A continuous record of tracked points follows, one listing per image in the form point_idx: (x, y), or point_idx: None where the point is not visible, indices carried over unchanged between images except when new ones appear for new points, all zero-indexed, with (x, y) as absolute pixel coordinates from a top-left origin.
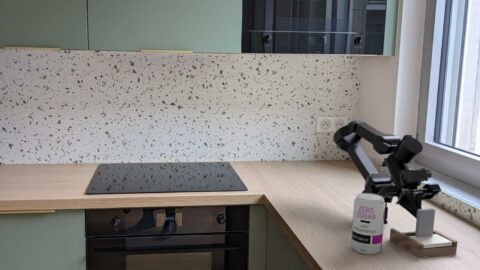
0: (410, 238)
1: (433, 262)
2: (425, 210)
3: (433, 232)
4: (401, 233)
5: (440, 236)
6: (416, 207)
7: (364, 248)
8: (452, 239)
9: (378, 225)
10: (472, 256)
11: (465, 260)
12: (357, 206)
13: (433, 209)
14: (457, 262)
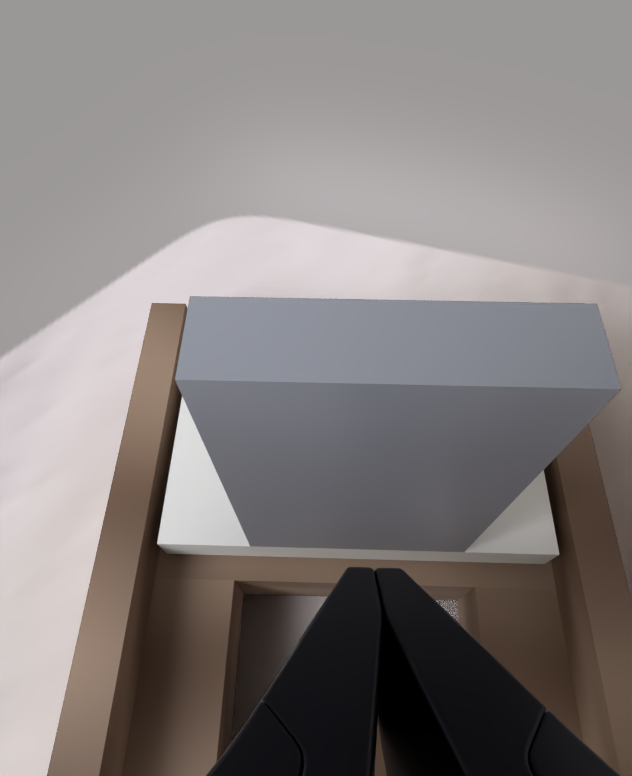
0: (577, 474)
1: (464, 292)
2: (453, 304)
3: (132, 615)
4: (617, 658)
5: (181, 461)
6: (449, 701)
7: None
8: (152, 348)
9: None
10: (107, 304)
11: (218, 269)
12: None
13: (237, 298)
14: (299, 258)
